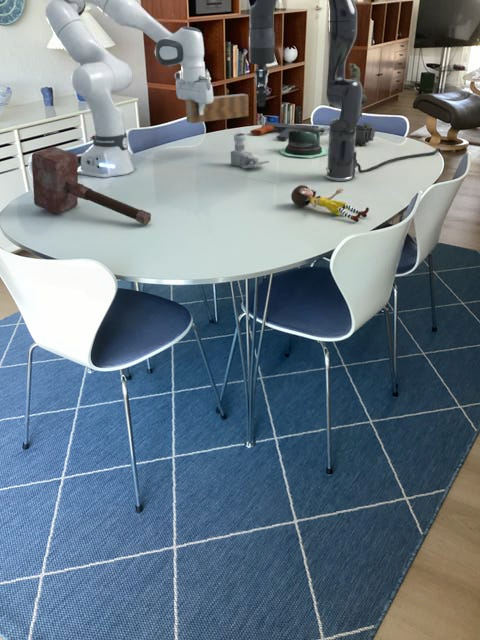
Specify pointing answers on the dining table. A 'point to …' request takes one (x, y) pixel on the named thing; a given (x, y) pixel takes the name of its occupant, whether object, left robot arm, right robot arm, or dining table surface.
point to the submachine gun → (281, 129)
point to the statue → (356, 76)
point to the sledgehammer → (69, 186)
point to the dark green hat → (304, 143)
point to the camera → (243, 154)
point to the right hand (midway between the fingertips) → (261, 103)
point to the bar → (218, 108)
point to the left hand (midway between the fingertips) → (195, 113)
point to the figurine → (324, 202)
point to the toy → (364, 134)
